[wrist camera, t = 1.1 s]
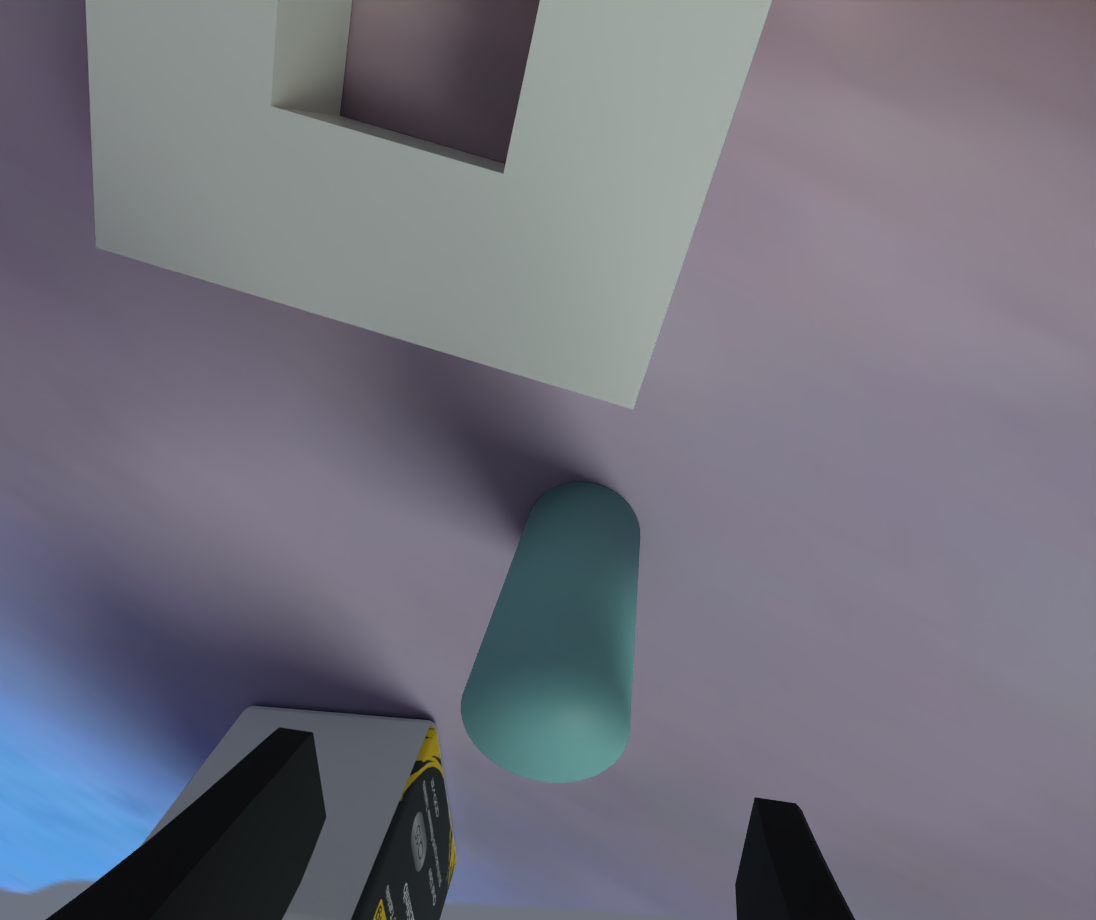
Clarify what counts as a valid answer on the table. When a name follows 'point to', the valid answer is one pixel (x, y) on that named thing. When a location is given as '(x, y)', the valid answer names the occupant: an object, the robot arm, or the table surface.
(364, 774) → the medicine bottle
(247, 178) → the socket slab
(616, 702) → the peg
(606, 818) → the table surface
